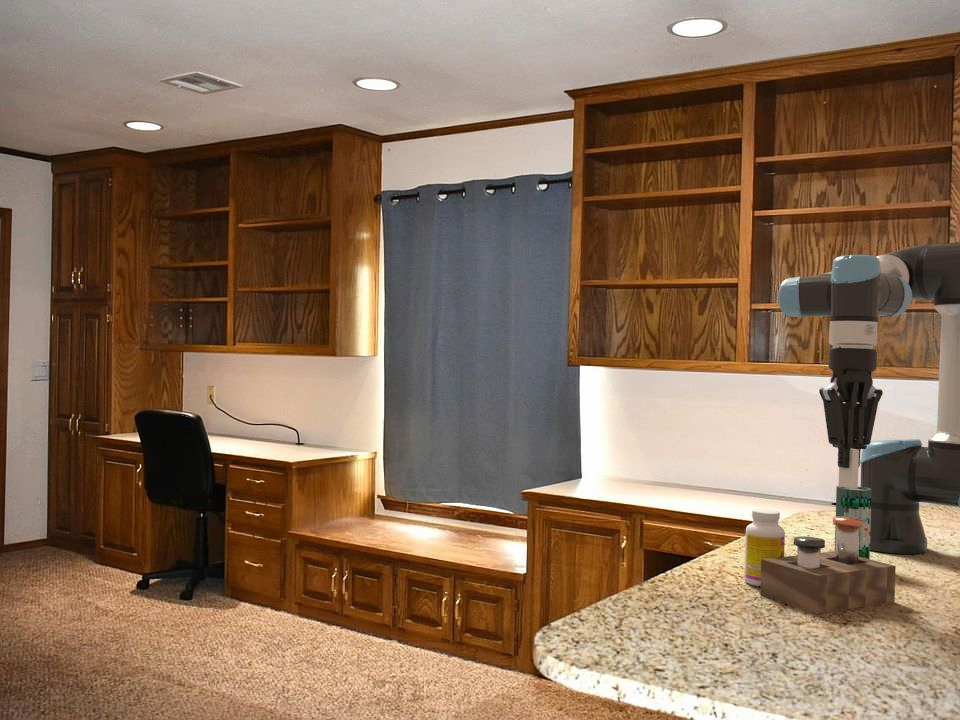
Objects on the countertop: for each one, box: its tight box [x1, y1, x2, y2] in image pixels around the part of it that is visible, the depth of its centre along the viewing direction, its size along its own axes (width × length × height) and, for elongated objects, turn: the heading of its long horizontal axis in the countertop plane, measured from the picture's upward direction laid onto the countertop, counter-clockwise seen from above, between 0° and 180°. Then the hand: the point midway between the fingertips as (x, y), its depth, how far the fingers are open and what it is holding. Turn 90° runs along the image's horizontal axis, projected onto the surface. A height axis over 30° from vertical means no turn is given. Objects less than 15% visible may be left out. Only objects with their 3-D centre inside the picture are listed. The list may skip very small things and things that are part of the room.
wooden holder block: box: [759, 550, 897, 615], centre depth 150 cm, size 18×12×6 cm, turn 118°
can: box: [834, 486, 872, 560], centre depth 176 cm, size 6×6×15 cm
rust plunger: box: [832, 516, 863, 565], centre depth 153 cm, size 5×5×9 cm
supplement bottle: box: [743, 508, 786, 588], centre depth 159 cm, size 7×7×13 cm
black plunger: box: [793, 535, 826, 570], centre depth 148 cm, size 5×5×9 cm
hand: (848, 487), depth 152 cm, fingers closed
